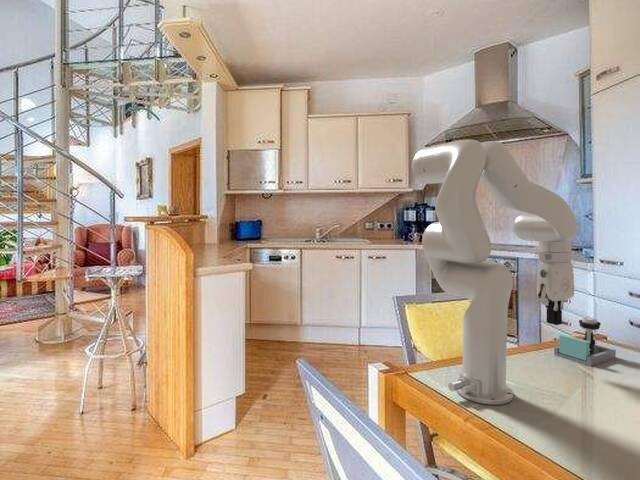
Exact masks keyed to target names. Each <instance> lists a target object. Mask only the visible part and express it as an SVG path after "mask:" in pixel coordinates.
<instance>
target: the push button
mask: <svg viewBox="0 0 640 480" xmlns="http://www.w3.org/2000/svg"><path fill="white" fill-rule="evenodd" d="M578 323H579V326H580V328H582V329H583V330H585V331H584V332H585V333H584V334H585V335H584V338H582V340H585V341H589V354H592V351H594V353H595V347H594V344H596V339H594V332H593V331H598V330H599V329H600V328H601V325H602V324H601V322H599V321H598V319H597V318H594V317H588V316H586V317H582V319H579V320H578Z"/></svg>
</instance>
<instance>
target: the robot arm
mask: <svg viewBox="0 0 640 480" xmlns="http://www.w3.org/2000/svg"><path fill="white" fill-rule="evenodd" d="M411 171H412V173H413V175H414V177H415V178H416V180H418V181H419V182H420V183H422V184H426V185H433V184H441V186H440V188H439V189H440V190H439V191H438V195H437V197H436V200H435V209H434V210H435V215H436V217H437V220H438V221H435V222H431V224H429V225H428V226H427V227H426V228H425V229H424V231H423V234H422V239H421V241H422V243H421V244H422V245H421V246H422V251H423V254H424V256H425V258H426V260H427V263H428V265H429V267H430V269H431V271H432V273H433V276H434V278H435V280H436V282H437V283H438V285H439V287H440V289H442V290H443V291H444V292H445V293H447V294H450V295H453V296H459V297H462V298H467V299H470V300H471V303H470V305H468V306H467V308H466V309H465V312H464V314H463V318H462V369H461V370H462V372H461V373H459V378H458V379H457V380H456V381H452V382H449V383H448V385H447V386H448V389H449V391H451V392H456V393H458V395H460V396H461V397H463V398H465V399H466V400H469V401H472V402H475V403H478V404H483V405H491V406H492V405H493V406H494V405H495V406H496V405H497V406H498V405H504V404H507V403H510V402H511V401H512V400H513V398H514V391H513V389H511V387H510V386H508V385H507V353H508V352H507V346H508V345H507V337H508V311H509V304H510V299H511V293H512V291H513V285H514V279H513V278H514V277H513V273H512V272H511V271H510V268H508V267H507V265H505V264H503V263H500V262H497V261H492V260H487V259H488V258H489V257H490V255H491V254H492V243H491V239H490V236H489V233H488V230H487V228H486V225H485V223H484V220H483V217H482V215H481V213H480V210H479V207H478V204H477V198H476V196H477V189H478V185H479V182H481V183H482V184H483V186H484V187H485V188H486V190H487V191H488V192H489V193H490V195H491V196H492V197H493V199H494V200H495V202H497V203H498V204H499V205H501V206H502V207H505V208H509V209H511V210H514V211H520V212H524V213H522V214H520V215H518V216H517V217H516V218H515V220H514V221H513V225H512V230H513V233H514V234H515V236H516V237H517V238H519V239H520V240H523V241H528V242H538V267H537V268H538V269H537V274H536V275H537V278H536V296H537V298H538V299H540V300H539V301H540V302H539V303H540V305H542V306H545V307H544V308H545V310H546V323H548V324H550V325H555V326H559V325H562V323H563V319H562V318H563V309H564V304H565V302H566V301H568V300H569V299H571V298H573V297H574V296H575V276H574V267H573V263H572V240H573V239H574V238H575V237H576V235H577V234H578V228H579V227H578V220H577V218H576V215H575V213H574V212H573V210H572V209H571V207H570V206H569V204H568V202H567V201H566V200H565V199H564V198H563V197H561V196H560V195H558V194H557V193H555V192H554V191H551V190H550V189H547V188H545V187H543V186H541V185H540V184H538V183H535V182H533V181H530V179H529V178H528V177H527V175H526V173H525V172H524V171H523V169H522V168H521V166H520V165H519V163H518V162H517V161H516V159H515V158H514V156H513V155H512V154H511V152H510V150H509V149H508V148H507V147H506V146H505V144H503V143H502V142H499V141H495V140H489V141H483V142H480V141H478V140H476V139H471V138H470V139H469V138H468V139H459V140H454V141H449V142H446V143H441V144H436V145H431V146H427V147H424V148H421V149H420V150H418V151H417V153H415V154H414V157H413V158H412V161H411Z"/></svg>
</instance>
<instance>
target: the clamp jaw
mask: <svg viewBox="0 0 640 480" xmlns="http://www.w3.org/2000/svg"><path fill="white" fill-rule="evenodd" d="M558 338H559V340H558V346H559V353H563V354H566V355H569V356H572V357H576V358H579V359H582V360H585V361H586V360H587V357H588V356H589V341H585V340H583V338H582V339H580V338H577V337H575V336H569V335H566V334H559V337H558Z"/></svg>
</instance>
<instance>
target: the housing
mask: <svg viewBox="0 0 640 480" xmlns="http://www.w3.org/2000/svg"><path fill="white" fill-rule="evenodd" d="M594 347H595V353H594V351H592V354H589V356H588V357H587V360H586V361H585V360H582V359H579V358H576V357H572V356H569V355H566V354H563V353H559V345H558V346H554V347H553V351H554V352H553V355H554V356H557V357H561V358H563V359H567V360H569V361H572V362H576V363H578V364H582V365H585V366H589V367H592V366H595V365H598V364H601V363H604V362H607V361H609V360H612V358H613V359H615V358H616V352H617V349H615V348H614V349H613V348H610V347H606V346H602V345H598V344H596V343H595V344H594Z"/></svg>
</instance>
